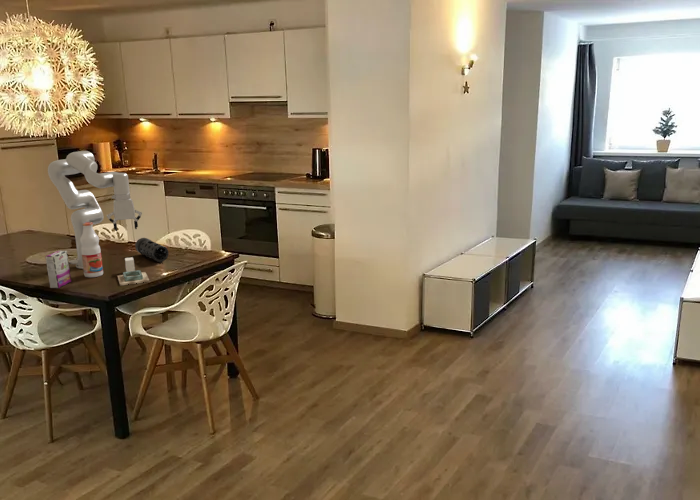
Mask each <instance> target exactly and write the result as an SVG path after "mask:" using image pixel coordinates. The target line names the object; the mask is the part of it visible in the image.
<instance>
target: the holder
mask: <svg viewBox="0 0 700 500" xmlns="http://www.w3.org/2000/svg"><path fill="white" fill-rule="evenodd" d="M116 276H117V280H118V283H119V286H120V287H121V286H127V285H128V284H129V285H134V284H136V283H137V284H143V282H144V283H150V278H149V275H148V274H147V273H146V271H143V272H142V271H141V270H140V269H139V270H135V271H130V272H127V271H124V272H122V274H119V275H116ZM137 284H136V285H137ZM129 285H128V286H129Z"/></svg>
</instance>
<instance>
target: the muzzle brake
mask: <svg viewBox="0 0 700 500" xmlns="http://www.w3.org/2000/svg"><path fill="white" fill-rule="evenodd" d="M134 244H135V250H136V251H137V253H139V254H141V255H144V256H145V257H147V258H150V259H151V260H154V261H156V262H158V263H159V264H162V263H163V262H164V261H167V259H168V257H169V254H170V253H169V249H168V248H167V247H166V246H164V245H162V244H160V243H158V242H155V241H153V240H151V239H149V238H147V237H141V238H138V239H137V240H136V242H135V243H134Z"/></svg>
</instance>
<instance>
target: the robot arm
mask: <svg viewBox="0 0 700 500" xmlns="http://www.w3.org/2000/svg"><path fill="white" fill-rule="evenodd" d="M95 160H96V158H95V156H94V154H93V153H92V152H90V151H88V150H81V151H73V152H70V153H68V155H66V158H65V159H58V160H57V159H56V160H54V161H51V162H50V163H49V164H48V167H47V175H48V177H49V180H50V181H51V182H52V184H53V185H54V187H56V189H57V191H58V193H59V195H60V197H61V199H62V200H63V203H64V204H65V205H66V207H67V209H69V210H74V212H72V213H71V215H70V221H71V225H72V227H73V233H74V237H75V244H76V245H75V246H76V254H77V258H75V259H74V260H73V259H72V260H68V262H69V265H75V268H77V269H80V270H81V269H82V270H84V269H83V262H82V254H81V248H82V245H81V242H80V238H81V236H82V234H83V229H84V227H83V223H85V222H92V223H93V225H98V224H100V223H102V222H103V221H104V212H103V210H102V208H101V206H100V204H99V203H98V200H97V199H96V197H95V195H94V194H93V192H91V191H90V190H88V189H80V190H78V189H77V188H76V186H75V185H74V183H73V181H71V180H70V179H69V178H68V177H67V176H69V175H76V174H80V173H81V174H83V175H84V178H85V180H86V182H88V184H89V185H91V186H93V187H95V188H98V189H106V188H111V187H113V195H111V199H114V200H113V211H112V212H110V213H108V214H106V218H107V219H108V220H109V221H110V222H111V223H112V224H113V230H115V232H118V225H117V222H118V221H123V220H133V223H134V230H137V228H138V227H139V225H138V221H139V220H140V218H141V217H142V215H143V212H142V211H139V210H137V209H135V206H134V200H133V199H132V198H131V192H130V182H129V174H127V172H118V171H110V172H109V171H107V172H102V173H98V172H97V170H98V164H97V162H96V161H95ZM136 214H138V215H137V216H136ZM112 216H114V218H113V219H112Z"/></svg>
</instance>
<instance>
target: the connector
mask: <svg viewBox="0 0 700 500" xmlns="http://www.w3.org/2000/svg"><path fill="white" fill-rule="evenodd" d="M124 262H125V263H124V265H125V272H130V271H136V267H135V260H134V257H133V256H132V257H125V258H124Z"/></svg>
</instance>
